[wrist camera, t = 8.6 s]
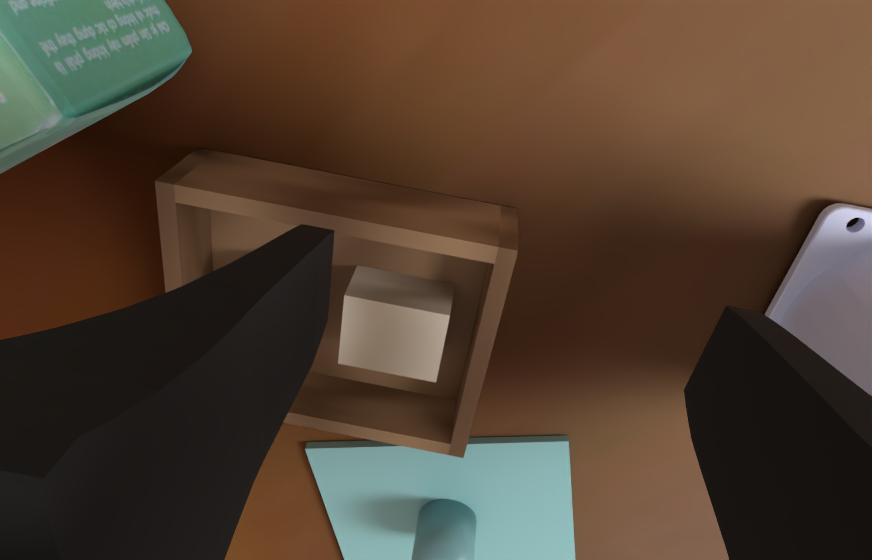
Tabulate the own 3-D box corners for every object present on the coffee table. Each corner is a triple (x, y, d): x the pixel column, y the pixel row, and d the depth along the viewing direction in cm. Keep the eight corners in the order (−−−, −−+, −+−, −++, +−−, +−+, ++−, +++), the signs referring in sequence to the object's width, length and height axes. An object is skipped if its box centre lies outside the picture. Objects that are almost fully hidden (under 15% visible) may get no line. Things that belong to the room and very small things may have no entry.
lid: (566, 424, 27) (575, 499, 23) (574, 563, 32) (582, 642, 28) (310, 432, 29) (283, 503, 25) (355, 562, 34) (337, 636, 30)
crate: (518, 208, 21) (518, 251, 18) (468, 403, 26) (463, 458, 23) (198, 147, 21) (154, 180, 19) (209, 353, 26) (176, 401, 23)
